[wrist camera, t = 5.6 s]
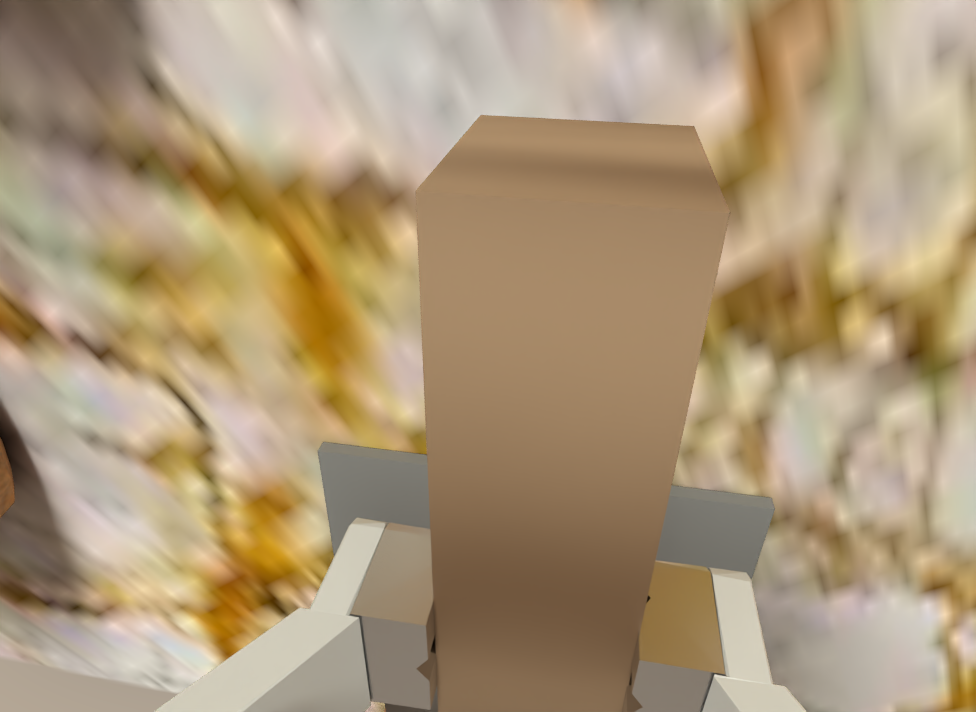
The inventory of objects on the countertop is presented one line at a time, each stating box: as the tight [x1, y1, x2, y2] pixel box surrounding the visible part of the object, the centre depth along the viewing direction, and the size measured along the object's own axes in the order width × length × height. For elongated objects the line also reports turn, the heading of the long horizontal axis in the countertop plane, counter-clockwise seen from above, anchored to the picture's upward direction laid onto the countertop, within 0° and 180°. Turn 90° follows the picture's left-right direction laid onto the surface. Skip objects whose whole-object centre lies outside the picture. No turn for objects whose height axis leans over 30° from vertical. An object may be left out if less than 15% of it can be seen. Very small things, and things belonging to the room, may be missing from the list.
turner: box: [385, 115, 730, 712], centre depth 10 cm, size 15×6×3 cm, turn 179°
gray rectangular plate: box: [318, 442, 775, 579], centre depth 30 cm, size 18×15×1 cm
